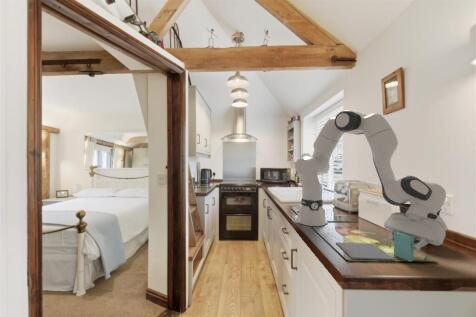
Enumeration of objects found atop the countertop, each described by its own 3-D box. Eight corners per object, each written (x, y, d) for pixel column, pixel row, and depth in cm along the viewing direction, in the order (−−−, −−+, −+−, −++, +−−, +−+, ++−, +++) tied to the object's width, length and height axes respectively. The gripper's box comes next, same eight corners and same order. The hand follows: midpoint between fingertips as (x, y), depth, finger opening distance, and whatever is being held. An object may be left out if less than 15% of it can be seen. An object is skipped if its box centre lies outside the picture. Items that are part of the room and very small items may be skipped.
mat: (335, 243, 105) (335, 242, 105) (372, 244, 104) (372, 243, 104) (351, 259, 89) (351, 257, 89) (395, 260, 88) (395, 259, 88)
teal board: (397, 254, 94) (397, 232, 94) (413, 260, 89) (414, 236, 89) (393, 255, 93) (394, 232, 93) (409, 261, 88) (410, 237, 88)
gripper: (390, 206, 103) (374, 231, 99) (446, 218, 84) (428, 249, 81) (396, 216, 105) (381, 240, 101) (452, 229, 86) (436, 260, 82)
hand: (402, 244), depth 91 cm, fingers open, 8 cm apart
